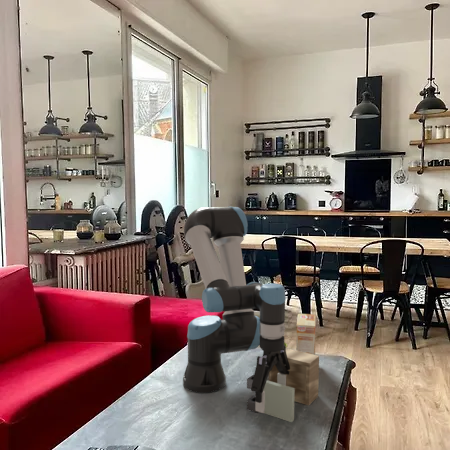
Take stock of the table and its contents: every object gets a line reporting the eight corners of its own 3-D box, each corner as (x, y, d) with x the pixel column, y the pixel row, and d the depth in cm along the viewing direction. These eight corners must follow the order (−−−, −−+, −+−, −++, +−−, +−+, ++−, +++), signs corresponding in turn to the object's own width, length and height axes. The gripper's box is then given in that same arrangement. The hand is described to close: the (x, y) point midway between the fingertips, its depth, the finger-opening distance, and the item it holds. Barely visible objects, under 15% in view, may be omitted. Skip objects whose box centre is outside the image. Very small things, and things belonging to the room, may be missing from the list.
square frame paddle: (246, 409, 142) (246, 378, 141) (253, 404, 146) (253, 374, 145) (289, 424, 134) (290, 391, 133) (295, 418, 137) (296, 386, 136)
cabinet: (257, 400, 148) (258, 358, 147) (277, 384, 160) (278, 346, 158) (300, 413, 140) (301, 370, 138) (318, 396, 151) (319, 355, 150)
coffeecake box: (314, 378, 165) (315, 326, 163) (294, 376, 166) (295, 324, 165) (314, 362, 180) (315, 314, 178) (296, 360, 181) (297, 313, 179)
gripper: (262, 350, 125) (261, 423, 127) (301, 326, 145) (299, 390, 147) (239, 344, 129) (238, 415, 131) (280, 322, 149) (279, 384, 152)
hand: (271, 402), depth 139 cm, fingers open, 13 cm apart
